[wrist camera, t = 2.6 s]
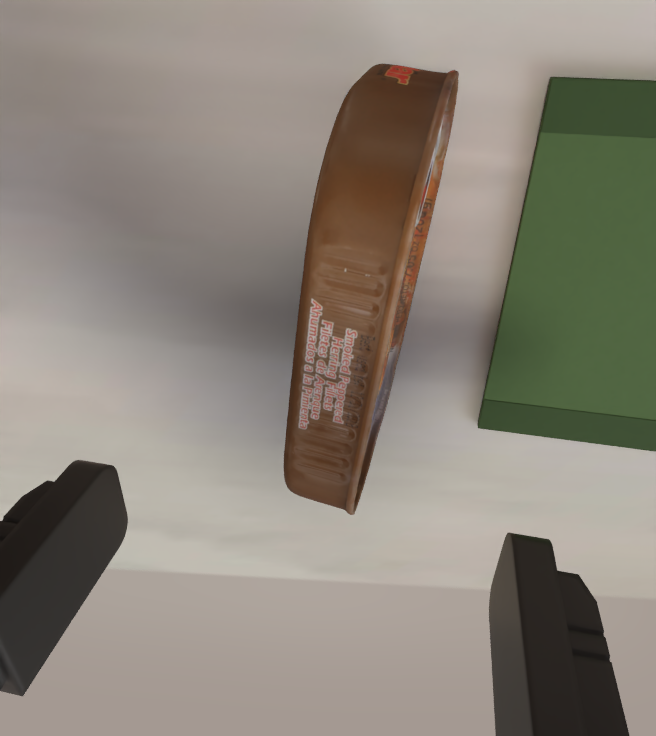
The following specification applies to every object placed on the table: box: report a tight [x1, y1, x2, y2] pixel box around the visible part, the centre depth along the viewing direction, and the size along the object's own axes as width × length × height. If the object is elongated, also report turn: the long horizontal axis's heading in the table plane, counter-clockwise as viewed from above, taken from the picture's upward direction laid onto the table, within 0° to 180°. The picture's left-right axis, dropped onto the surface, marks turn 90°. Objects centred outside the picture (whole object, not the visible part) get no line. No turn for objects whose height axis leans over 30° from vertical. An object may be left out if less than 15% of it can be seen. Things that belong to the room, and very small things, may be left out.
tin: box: [284, 64, 459, 515], centre depth 19 cm, size 15×3×8 cm, turn 172°
